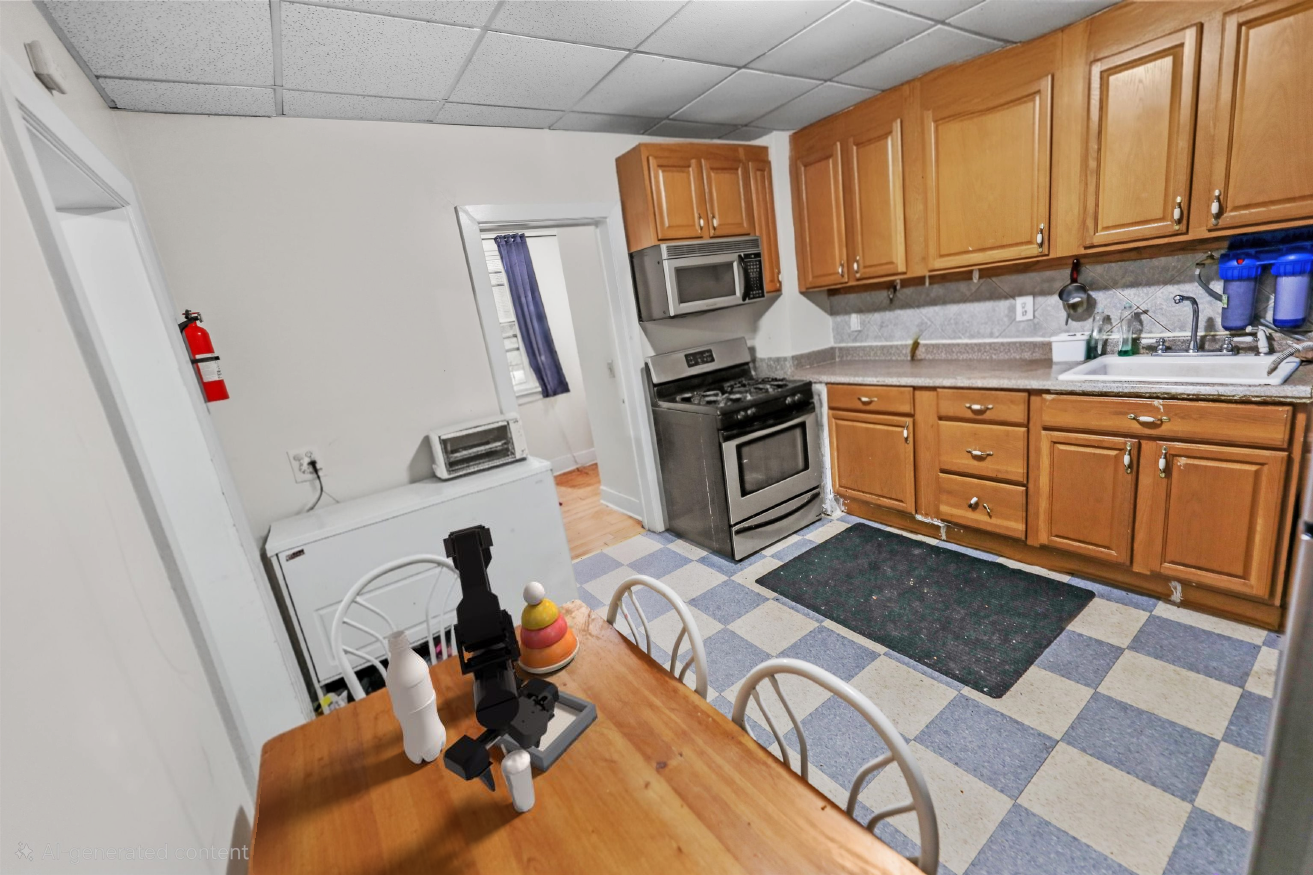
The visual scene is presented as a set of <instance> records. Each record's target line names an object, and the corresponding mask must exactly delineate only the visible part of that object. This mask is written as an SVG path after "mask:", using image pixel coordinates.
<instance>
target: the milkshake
mask: <svg viewBox="0 0 1313 875" xmlns="http://www.w3.org/2000/svg"><path fill="white" fill-rule="evenodd" d="M501 748H502V749H501ZM501 748H500V749H501V751H502V752H503V754H504V756H505V757H504V758H503V759H502V761H501V764H500V770H501V773H502V776H503V778H504V781H505V783H506V787H507V789H508V792H509V796H510V798H511V801H512V803H513V807H514V810H516V811H517V812H519V813H526V812H528V811H529V810H531V809H532V808H533V806H534V805H535V802H536V798H535V797H536V796H535V789H534V782H533V775H532V765H531V762H530V755H529V754H528V753H527V752H526V751H525V750H523V749H521V750H515V751H513V752H511V753H509V752H507V751H506V749H505V747H504V745H503V744H501Z"/></svg>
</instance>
